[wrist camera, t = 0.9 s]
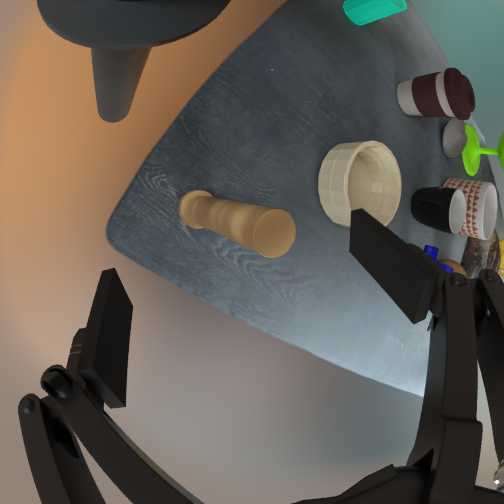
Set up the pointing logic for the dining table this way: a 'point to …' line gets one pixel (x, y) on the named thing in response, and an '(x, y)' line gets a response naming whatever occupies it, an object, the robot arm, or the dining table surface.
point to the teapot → (503, 258)
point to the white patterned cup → (477, 207)
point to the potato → (454, 266)
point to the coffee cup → (437, 95)
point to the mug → (440, 208)
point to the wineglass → (478, 151)
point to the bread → (481, 255)
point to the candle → (372, 9)
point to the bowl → (360, 182)
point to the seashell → (454, 138)
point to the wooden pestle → (240, 222)
